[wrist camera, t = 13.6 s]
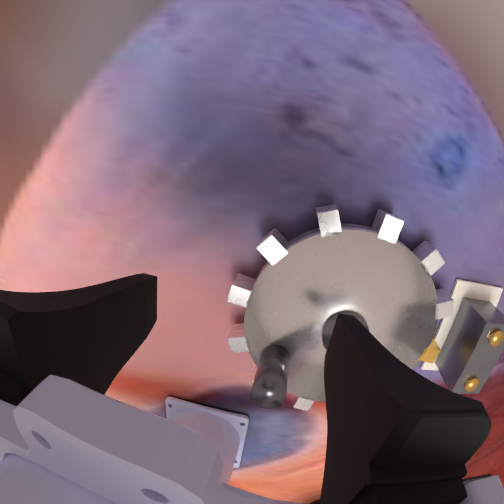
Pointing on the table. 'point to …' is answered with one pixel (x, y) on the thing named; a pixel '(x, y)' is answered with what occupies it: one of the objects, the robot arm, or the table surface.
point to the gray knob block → (471, 346)
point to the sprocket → (334, 302)
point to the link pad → (457, 294)
